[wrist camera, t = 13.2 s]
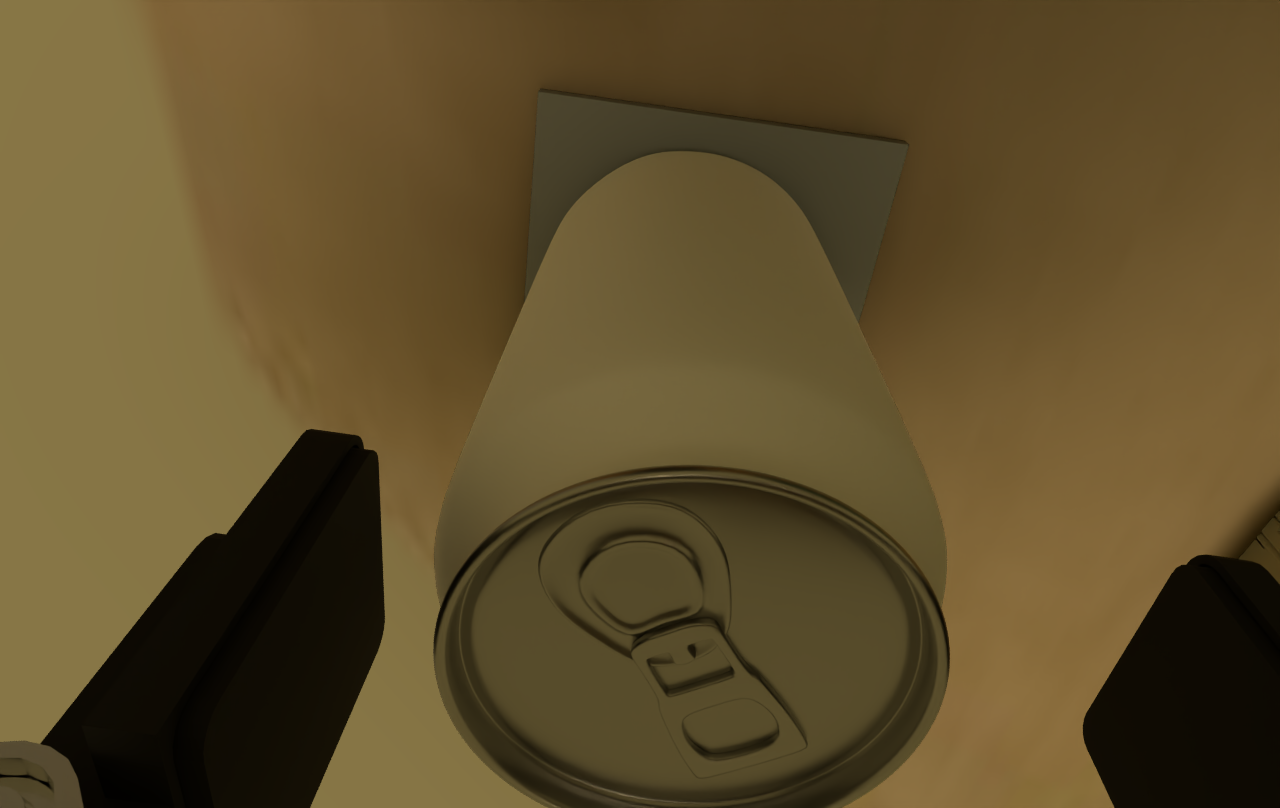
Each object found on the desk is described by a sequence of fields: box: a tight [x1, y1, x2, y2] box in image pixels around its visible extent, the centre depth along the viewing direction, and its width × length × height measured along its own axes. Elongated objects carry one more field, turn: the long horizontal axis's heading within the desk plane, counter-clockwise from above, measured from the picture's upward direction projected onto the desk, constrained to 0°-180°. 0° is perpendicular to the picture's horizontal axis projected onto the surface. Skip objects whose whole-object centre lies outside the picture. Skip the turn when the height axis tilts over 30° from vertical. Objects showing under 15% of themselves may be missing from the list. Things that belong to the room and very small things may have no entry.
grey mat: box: [524, 89, 909, 323], centre depth 20 cm, size 8×8×1 cm
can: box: [433, 151, 950, 808], centre depth 14 cm, size 6×6×12 cm
